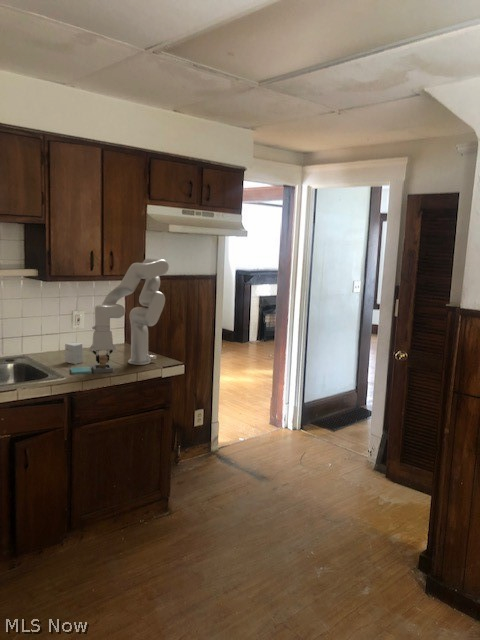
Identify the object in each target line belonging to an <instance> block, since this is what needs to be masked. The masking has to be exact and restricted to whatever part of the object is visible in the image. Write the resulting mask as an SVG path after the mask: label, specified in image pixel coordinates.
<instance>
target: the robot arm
mask: <svg viewBox="0 0 480 640" xmlns="http://www.w3.org/2000/svg"><path fill="white" fill-rule="evenodd" d="M169 266H170V265H169V263H168V262H167V260H166V259H163V258H162V259H161V258H151V257H150V258H145V259H144V260H143V262H134V263H132V264H130V266H129V267H128V269H127V271H126V273H125V274H124V276H123V278H122V280H121V281H120V284H118V285H117V286H116V287H115V288H113V289H112V290H111V291H110V292H108V293H107V295H106V296H105V298H104V300H103V302H102V304H98V305H95V307H94V325H93V326H92V327H91V328H92V330H93V334H92V344H91V345H90V346H89V349H88V351H89V352H91V353H93V354H94V355H95V361H96V362H97V364H100V362H99V354H100V352H101V351H106V355H107V357H108V362H109V361H110V355H111V354H112V353H113V352H115V351H117V347H115V345H114V342H113V339H114V338H113V332H112V330H111V319H121V318H122V317H124V316H125V314H126V309H125V307H124V306H123V305H121V304H119V303H118V301H119V300H121V299H122V298H124V297H127V296H129V295H131V294H133V293H134V292H135V290H136V289H137V287H138V285H139V283H140V282H141V280H142V279H143V280H145V281H144V284H143V287H142V289H141V292H140V294H139V297H138V298H139V299H138V302H139V304H140V305H141V307H140V306H137V307H133V308H131V310H130V312H129V322H130V358H129V359H128V361H127V362H128V364H129V365H137V366H140V365H141V366H143V365H149V364H151V363H152V362H151V361H152V360H156V359H157V355H152V354H151V355H150V354H149V327H153V326H155V325H156V324H157V323H158V322H159V320H160V318H161V317H160V316H161V314H162V312H163V310H164V307H165V302H166V297H165V294H164V293H162V292H161V291H159V289H160V286H161V278H160V277H161V276H163V275H165V274H167V272H168V271H169V268H170V267H169Z"/></svg>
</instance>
